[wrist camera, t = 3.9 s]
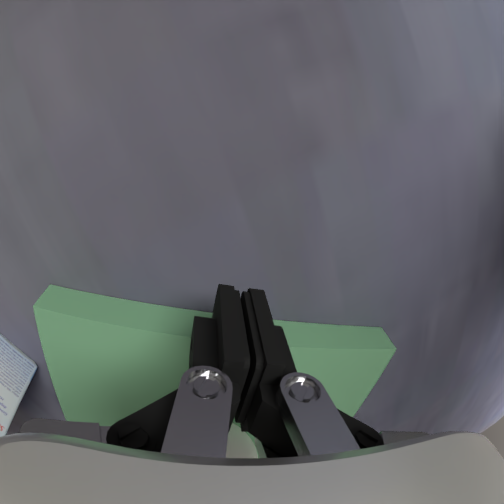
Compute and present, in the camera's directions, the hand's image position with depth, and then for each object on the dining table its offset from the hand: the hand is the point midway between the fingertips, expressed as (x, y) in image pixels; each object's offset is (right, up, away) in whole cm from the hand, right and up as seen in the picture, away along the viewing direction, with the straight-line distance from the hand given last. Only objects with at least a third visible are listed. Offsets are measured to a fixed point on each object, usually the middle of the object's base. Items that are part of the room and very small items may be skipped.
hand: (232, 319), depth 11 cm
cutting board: (-3, -11, +7) cm, 13 cm away
